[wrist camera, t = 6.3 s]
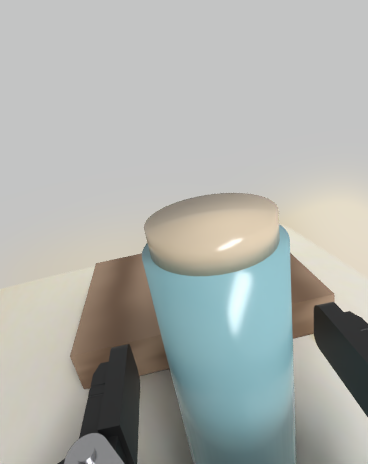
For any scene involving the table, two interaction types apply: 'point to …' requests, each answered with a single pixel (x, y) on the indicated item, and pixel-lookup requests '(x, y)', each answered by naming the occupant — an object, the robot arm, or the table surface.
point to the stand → (144, 317)
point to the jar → (226, 324)
